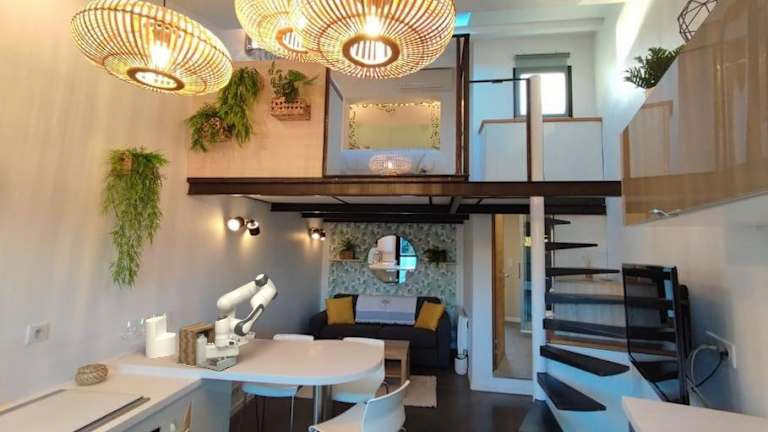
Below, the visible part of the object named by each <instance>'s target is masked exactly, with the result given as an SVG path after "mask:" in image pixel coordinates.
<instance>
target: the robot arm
mask: <svg viewBox="0 0 768 432" xmlns="http://www.w3.org/2000/svg"><path fill="white" fill-rule="evenodd" d="M278 295H279V293H278V290H277V289H276V286H275V284H274V282H272V280H271V279H270V278H269V276H268V275H267V274H266V273H260V274H259V275H257V276H255V278H254V280H253V281H251V282H248V283H246V284H244V285H242V286H240V287H238V288H236V289H234V290H232V291H230V292H227V293H225V294H223V295H222V296H221V297H219V298H218V299H217V302H216V308H217V309H218V310H219V311H220V314H219V317H217V318H216V319H215V322H214V323H215V324H214V325H215V343H208V344H206V345H205V350H206V352H205V358H206V359H208V358H218V360H219V361H221V359H222V358H223V359H226V358H228V357H231V356H236V357H237V356H239V354H240V347H241V346H244V345H247V344H249V342H250V341H249V340H248V339H247V338H246V336H247V335H248V334H249V333H250V331H251V330H252V328H253V326H254V325H255V323H256V322H257V321H258V320H259V318H260V317H261V315H262V314H263V313H264V311H265V308H266V307H267V306H268V305H269V304H270V302H272V301H274V300H276V298H277V297H278ZM249 299H250V303H249V304H250V307H251V309H252V311H251V312H250V314H249V315H248V316H247V317H246V318H245V319H239V318H236V313H237V306H238V305H241V304H242V303H244V302H246V301H247V300H249Z"/></svg>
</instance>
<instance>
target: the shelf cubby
mask: <svg viewBox="0 0 768 432" xmlns="http://www.w3.org/2000/svg"><path fill="white" fill-rule="evenodd" d="M196 333H197V334H204V336H205V337H206V338H207V344H208V343H215V335H216V334H215V324H213V323H205V322H198V323H195V324H194V323H193V324H191V325H188V326H185V327H184V326H183V327H181V328H179V329H178V337H179V338H178V341H179V342H178V344H179V345H178V350H179V351H178V357H179V359H178V360H179V361H178V362H179V363H181V364H186V365H190V366H196ZM196 367H197V366H196Z"/></svg>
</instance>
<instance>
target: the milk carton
mask: <svg viewBox="0 0 768 432" xmlns="http://www.w3.org/2000/svg"><path fill="white" fill-rule="evenodd" d="M206 344H207V338H206V337H205V336H204V334H197V333H196V363H201V364H203V363H206V362H208V360H207V359H206V358H205V352H206V350H205V345H206ZM202 362H203V363H202Z"/></svg>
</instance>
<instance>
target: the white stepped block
mask: <svg viewBox="0 0 768 432" xmlns="http://www.w3.org/2000/svg"><path fill="white" fill-rule="evenodd" d="M176 353H177V333H176V332H167V315H162V316H156V317H155V316H154V317H151V318H147V319H146V320H145V358H146V357H150V358H155V359H158V358H157V357H163V358H165V357H164V356H167V357H170V356H173V355H174V354H176ZM172 354H173V355H172ZM169 355H170V356H169ZM150 358H149V359H150Z"/></svg>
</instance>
